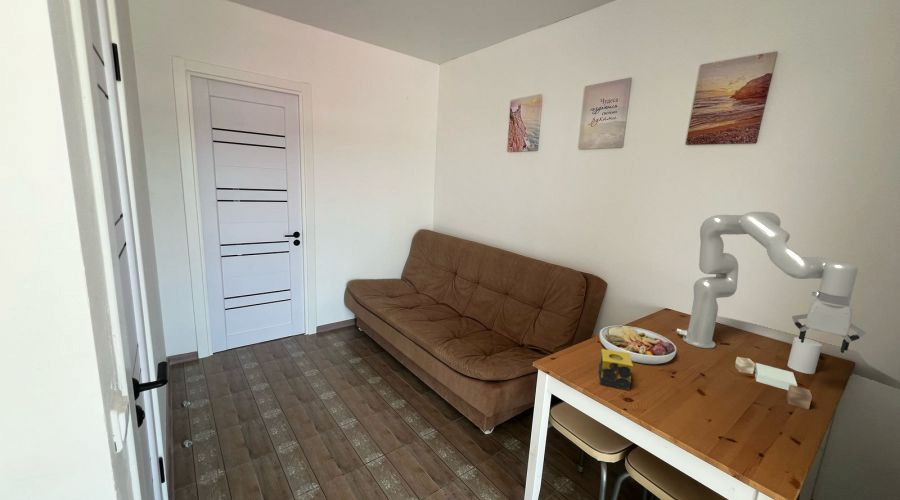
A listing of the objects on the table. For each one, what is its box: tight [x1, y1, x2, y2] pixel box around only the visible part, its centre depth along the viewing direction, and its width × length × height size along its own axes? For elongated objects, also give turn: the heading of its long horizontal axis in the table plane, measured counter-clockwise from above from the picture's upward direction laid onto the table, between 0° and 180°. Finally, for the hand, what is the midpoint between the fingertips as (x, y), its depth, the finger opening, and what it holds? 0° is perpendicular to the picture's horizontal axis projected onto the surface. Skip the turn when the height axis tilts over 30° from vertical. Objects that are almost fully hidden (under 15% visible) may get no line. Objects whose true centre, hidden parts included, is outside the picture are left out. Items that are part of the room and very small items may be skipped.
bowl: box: [599, 325, 677, 365], centre depth 158 cm, size 30×30×8 cm
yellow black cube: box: [598, 348, 634, 391], centre depth 132 cm, size 10×10×10 cm
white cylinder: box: [787, 336, 823, 375], centre depth 146 cm, size 8×8×12 cm
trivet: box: [753, 362, 798, 391], centre depth 137 cm, size 11×11×3 cm
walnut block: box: [786, 385, 813, 411], centre depth 123 cm, size 5×5×5 cm
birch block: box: [734, 356, 756, 375], centre depth 144 cm, size 4×4×4 cm
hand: (821, 346), depth 123 cm, fingers open, 9 cm apart
